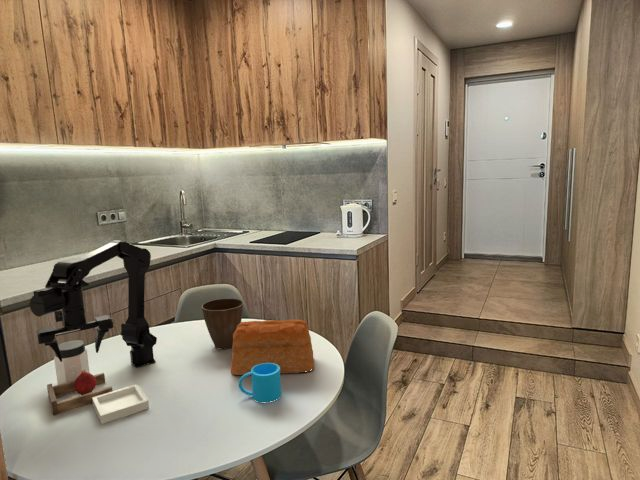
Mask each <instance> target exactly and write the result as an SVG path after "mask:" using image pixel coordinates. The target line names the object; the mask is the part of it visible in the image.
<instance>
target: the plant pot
mask: <svg viewBox="0 0 640 480" xmlns="http://www.w3.org/2000/svg"><path fill="white" fill-rule="evenodd" d="M243 306H244V301H243V300H241V299H240V298H239V299H238V298H218V299H217V298H216V299H212V300H209V301H207V302H204V303H202V305H201V310H202V315H203V320H204V323H205V325H206V328H207V331H208V333H209V336H210V339H211V341H212V343H213V345H214V347H215V348H216V349H219V350H227V349H228V348H229V349H232V348H233V334H234V332H235V331H236V328H237V326H238V324H240V323H241V322H242V319H243V312H244V311H243V310H244V309H243V308H244V307H243ZM231 347H232V348H231Z"/></svg>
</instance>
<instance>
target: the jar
mask: <svg viewBox="0 0 640 480" xmlns="http://www.w3.org/2000/svg"><path fill="white" fill-rule="evenodd" d="M58 346H59V350H60V353H61V356H62V362H60V360H59V358H58V356H57V355H56V353H55V352H54V354H55V355H54V356H53V359H54V365H55V366H54V368H55V375H56V384H57V385H60V384H64V383H67V382H71V381H75V379H76V378H77V377H78V376H79V375H80V374H81V373H82V370H86V372H87V373H90V365H89V355H88V350H87V349H86V345H85V341H84V340H79V339H78V340H77V339H74V340H69V341H65V342H62V343H58ZM90 374H91V373H90Z"/></svg>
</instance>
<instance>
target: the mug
mask: <svg viewBox="0 0 640 480" xmlns="http://www.w3.org/2000/svg"><path fill="white" fill-rule="evenodd" d="M248 376H251V389H252V391H248V390H246V389H245V388H244V387H243V384H242V383H243V380H245V378H247V377H248ZM281 383H282V381H281V373H280V367H279V366H278V365H277V364H274V363H262V364H258V365H256V366H254V367H253V368H252V369H251V372H248V373H246V374H244V375H241V376H240V378H239V380H238V384H237V385H238V388H239V390H240V392H242V393H243V394H245V395H247V396H250V397H251V396H252V400H256V401H258V402H270V401H274V400H276V399H278V398H279V397H280V396H282V385H281ZM280 398H281V397H280ZM280 398H279V399H280ZM279 399H278V400H279ZM256 401H255V402H256ZM276 401H277V400H276ZM258 402H257V403H258ZM274 402H275V401H274Z"/></svg>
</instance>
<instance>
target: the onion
mask: <svg viewBox="0 0 640 480" xmlns="http://www.w3.org/2000/svg"><path fill="white" fill-rule="evenodd" d="M93 375H94V374H92V373H87V372H86V370H82V373H81V374H80V375H79V376H78V377H77V378H76V379H75V382H74V389H75V391H76V392H75V393H76V394H78V395H79V396H80V395H83V394H87V393H90V392H93V391H95V388H96V387H97V386H96V379H95V377H94V376H93Z"/></svg>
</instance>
